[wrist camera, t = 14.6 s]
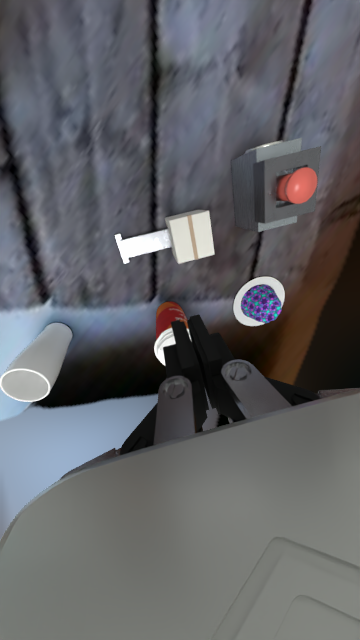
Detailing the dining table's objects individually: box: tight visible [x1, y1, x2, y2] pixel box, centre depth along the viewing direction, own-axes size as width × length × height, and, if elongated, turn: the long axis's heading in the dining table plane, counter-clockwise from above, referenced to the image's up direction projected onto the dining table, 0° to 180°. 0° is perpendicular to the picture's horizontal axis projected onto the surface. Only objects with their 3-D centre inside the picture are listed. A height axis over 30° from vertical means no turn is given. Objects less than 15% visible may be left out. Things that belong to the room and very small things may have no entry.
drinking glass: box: [0, 323, 72, 402], centre depth 38 cm, size 7×7×15 cm
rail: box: [115, 228, 172, 264], centre depth 38 cm, size 5×16×2 cm, turn 102°
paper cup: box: [154, 302, 191, 365], centre depth 40 cm, size 8×8×14 cm
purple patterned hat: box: [233, 277, 285, 326], centre depth 46 cm, size 12×12×5 cm
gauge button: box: [276, 167, 317, 204], centre depth 27 cm, size 4×4×5 cm
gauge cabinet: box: [231, 138, 321, 232], centre depth 32 cm, size 10×7×12 cm
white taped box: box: [165, 210, 215, 264], centre depth 36 cm, size 6×6×7 cm
